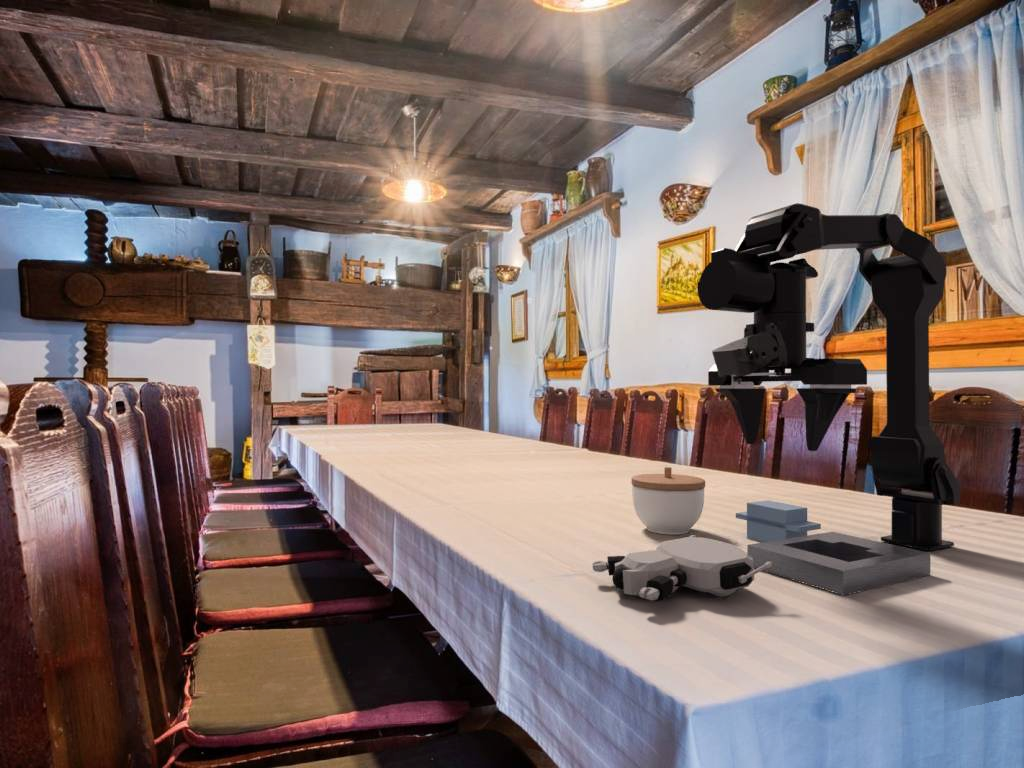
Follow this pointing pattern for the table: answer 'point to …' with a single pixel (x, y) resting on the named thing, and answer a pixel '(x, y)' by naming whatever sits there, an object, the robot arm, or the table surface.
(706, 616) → the table surface
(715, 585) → the robot toy
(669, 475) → the lidded jar
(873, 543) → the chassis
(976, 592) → the table surface
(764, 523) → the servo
